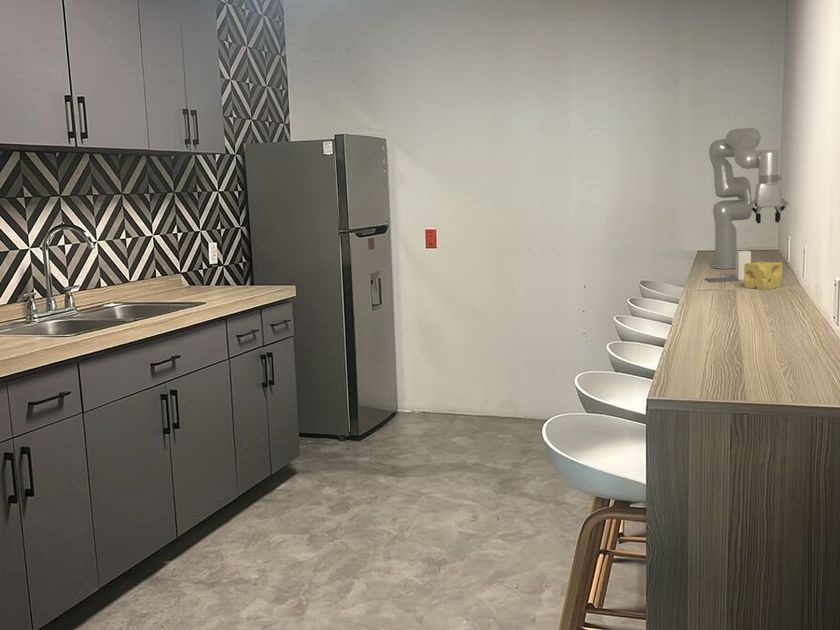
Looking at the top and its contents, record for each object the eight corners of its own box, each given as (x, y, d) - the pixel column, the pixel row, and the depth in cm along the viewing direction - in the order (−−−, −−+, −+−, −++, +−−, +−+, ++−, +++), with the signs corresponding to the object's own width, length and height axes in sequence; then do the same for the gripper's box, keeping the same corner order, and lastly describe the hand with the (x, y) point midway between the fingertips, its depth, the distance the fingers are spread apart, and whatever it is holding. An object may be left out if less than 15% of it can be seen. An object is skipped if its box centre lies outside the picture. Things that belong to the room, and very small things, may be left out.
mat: (704, 279, 370) (704, 278, 369) (733, 278, 368) (733, 277, 368) (710, 282, 360) (710, 281, 360) (739, 281, 358) (739, 280, 358)
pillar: (735, 278, 366) (735, 251, 364) (747, 278, 365) (747, 250, 363) (738, 280, 361) (738, 252, 359) (750, 279, 360) (750, 251, 358)
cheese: (764, 290, 331) (764, 264, 330) (742, 287, 341) (742, 263, 339) (782, 287, 336) (783, 262, 334) (760, 284, 345) (761, 260, 344)
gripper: (787, 178, 358) (786, 221, 361) (744, 181, 360) (744, 223, 363) (792, 179, 350) (792, 222, 353) (749, 181, 352) (749, 224, 355)
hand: (767, 222), depth 358 cm, fingers open, 6 cm apart
